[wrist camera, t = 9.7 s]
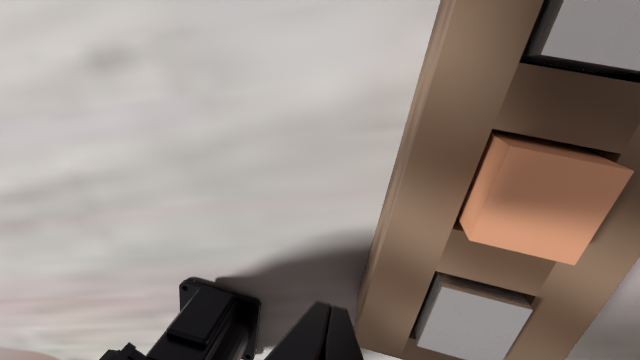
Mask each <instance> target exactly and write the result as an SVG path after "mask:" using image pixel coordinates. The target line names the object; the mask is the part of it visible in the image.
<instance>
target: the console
mask: <svg viewBox="0 0 640 360" xmlns="http://www.w3.org/2000/svg"><path fill="white" fill-rule="evenodd" d="M543 1H544V0H441V2H440V5H439V9H438V12H437V16H436V19H435V23H434V26H433V30H432V34H431V37H430V41H429V44H428V48H427V51H426V55H425V58H424V62H423V66H422V69H421V73H420V76H419V80H418V83H417V87H416V90H415V94H414V97H413V101H412V105H411V108H410V112H409V115H408V119H407V122H406V126H405V129H404V133H403V136H402V140H401V144H400V147H399V151H398V154H397V158H396V161H395V165H394V168H393V172H392V176H391V179H390V183H389V186H388V190H387V193H386V197H385V200H384V204H383V207H382V211H381V215H380V218H379V222H378V225H377V229H376V232H375V236H374V239H373V243H372V246H371V250H370V254H369V257H368V261H367V264H366V268H365V271H364V275H363V278H362V282H361V286H360V289H359V293H358V298H357V308H356V319H355V329H354V332H355V335H356V338H357V341H358V344H359V347H361V348H365V349H368V350H372V351H375V352H379V353H382V354H385V355H389V356H392V357H396V358H399V359H403V360H465V359H461V358H458V357H454V356H451V355H447V354H443V353H440V352H436V351H433V350H429V349H426V348H422V347H419V346H417V343H416V335H415V327H414V322H415V320H416V317H417V315H418V313H419V310H420V308H421V305H422V303H423V300H424V298H425V295H426V293H427V290H428V288H429V285H430V283H431V280H432V278H433V275H434V273H435V271H438V272H442V273H445V274H449V275H453V276H457V277H461V278H465V279H469V280H473V281H477V282H481V283H485V284H489V285H493V286H497V287H501V288H505V289H509V290H513V291H517V292H521V293H523V295H524V296H525V298H526V300H527V301H528V303H529V304H530V306H531V308H532V309H533V311H532V313H531V314H530V316H529V318H528V319H527V321H526V322H525V324H524V326H523V327H522V329H521V331H520V332H519V334H518V336H517V337H516V339H515V341H514V342H513V344H512V345H511V347H510V349H509V350H508V352H507V354H506V355H505V357H504V359H503V360H564V359H565V358H566V357H567V355H568V354H569V352H570V351H571V350H572V348H573V347H574V346H575V344H576V343H577V342H578V340H579V339H580V337H581V336H582V335H583V333H584V332H585V331H586V329H587V328H588V326H589V325H590V324H591V322H592V321H593V320H594V318H595V317H596V316H597V314H598V313H599V311H600V310H601V309H602V307H603V306H604V305H605V303H606V302H607V300H608V299H609V298H610V296H611V295H612V294H613V292H614V291H615V290H616V288H617V287H618V285H619V284H620V283H621V281H622V280H623V279H624V277H625V276H626V274H627V273H628V272H629V270H630V269H631V268H632V266H633V265H634V264H635V262H636V261H637V259H638V258H639V257H640V75H633V76H632V78H631V80H630V81H624V80H618V79H613V78H607V77H601V76H595V75H589V74H583V73H577V72H571V71H565V70H560V69H554V68H548V67H542V66H536V65H530V64H524V63H519V61H520V59H521V56H522V54H523V51H524V49H525V46H526V44H527V41H528V39H529V36H530V34H531V31H532V29H533V26H534V24H535V21H536V19H537V16H538V14H539V11H540V9H541V6H542V4H543ZM492 129H497V130H502V131H507V132H512V133H517V134H522V135H528V136H533V137H538V138H543V139H548V140H553V141H558V142H563V143H568V144H574V145H579V146H584V147H589V148H592V150H591V153H594V154H596V155H598V156H601V157H603V158H605V159H608V160H610V161H612V162H615V163H617V164H619V165H622V166H624V167H626V168H629V169H631V170H633V171H634V173H633V174H632V176H631V177H630V179H629V181H628V182H627V184H626V185H625V187H624V188H623V190H622V192H621V193H620V195H619V196H618V198H617V199H616V201H615V203H614V204H613V206H612V207H611V209H610V211H609V212H608V214H607V215H606V217H605V218H604V220H603V222H602V223H601V225H600V226H599V228H598V230H597V231H596V233H595V234H594V236H593V237H592V239H591V241H590V242H589V244H588V245H587V247H586V248H585V250H584V252H583V253H582V255H581V256H580V258H579V260H578V261H577V263H576V264H575V265H570V264H566V263H562V262H558V261H554V260H549V259H545V258H541V257H537V256H533V255H528V254H524V253H520V252H516V251H512V250H507V249H503V248H499V247H495V246H491V245H486V244H482V243H478V242H474V241H470V240H469V239H468V237H467V235H466V233H465V231H464V229H463V227H462V225H461V223H460V221H458V220H456V218H457V215H458V213H459V210H460V208H461V205H462V203H463V200H464V198H465V196H466V193H467V191H468V188H469V186H470V183H471V181H472V178H473V176H474V173H475V171H476V168H477V166H478V163H479V161H480V158H481V156H482V153H483V151H484V148H485V146H486V143H487V141H488V138H489V136H490V133H491V131H492Z"/></svg>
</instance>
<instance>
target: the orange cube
mask: <svg viewBox="0 0 640 360" xmlns="http://www.w3.org/2000/svg"><path fill="white" fill-rule="evenodd" d="M633 173H634V171H633V170H631V169H629V168H626V167H624V166H622V165H619V164H617V163H615V162H612V161H610V160H608V159H605V158H603V157H601V156H598V155H596V154H594V153H591V152H589V151H587V150H584V149H582V148H580V147H578V146H575V145H573V144H568V143H563V142H558V141H553V140H548V139H543V138H538V137H533V136H528V135H522V134H517V133H512V132H507V131H502V130H497V129H492V131H491V133H490V136H489V138H488V141H487V143H486V146H485V148H484V151H483V153H482V156H481V158H480V161H479V163H478V166H477V168H476V171H475V173H474V176H473V178H472V181H471V183H470V186H469V188H468V191H467V193H466V196H465V198H464V200H463V203H462V205H461V208H460V210H459V213H458V215H457V217H458V219H459V221H460V223H461V225H462V227H463V229H464V231H465V233H466V235H467V237H468V239H469V240H470V241H474V242H478V243H482V244H486V245H491V246H495V247H499V248H503V249H507V250H512V251H516V252H520V253H524V254H528V255H533V256H537V257H541V258H545V259H549V260H554V261H558V262H562V263H566V264H570V265H575V264H576V263H577V261H578V260H579V258H580V256H581V255H582V253H583V252H584V250H585V248H586V247H587V245H588V244H589V242H590V241H591V239H592V237H593V236H594V234H595V233H596V231H597V230H598V228H599V226H600V225H601V223H602V222H603V220H604V218H605V217H606V215H607V214H608V212H609V211H610V209H611V207H612V206H613V204H614V203H615V201H616V199H617V198H618V196H619V195H620V193H621V192H622V190H623V188H624V187H625V185H626V184H627V182H628V181H629V179H630V177H631V176H632V174H633Z"/></svg>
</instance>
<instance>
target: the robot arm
mask: <svg viewBox="0 0 640 360" xmlns="http://www.w3.org/2000/svg"><path fill="white" fill-rule="evenodd" d="M179 293H180V313H179V314H178V315H177V317H176V318H175V319H174V320H173V322H172V323H171V324H170V325H169V326H168V328H167V330H166V331H165V332H164V334H163V335H162V336H161V337H160V339H159V340H158V341H157V342H156V344H155V345H154V346H153V347H152V349H151V350H150V351H149V352H148V354H147V355H146V356H145V355H143V354H142V353H141V352H139V351H138V350H136V349H135V348H136V347H135V346H134V345H132V344H131V343H130V342H129V343H128V344H127V345H126V346H125V347H124V348H123V349H122V350H121V351H120V350H118V351H117V350H108V351H107V352H106V353H105V354H104V355H103V356H102V357H101V358H100V359H99V360H240V359H243V360H253V359H254V357H255V354H256V346H257V337H258V328H259V320H260V311H261V303H260V301H258V300H257V299H254V298H251V297H247V296H243V295H240V294H236V293H233V292H229V291H226V290H222V289H219V288H215V287H212V286H208V285H204V284H201V283H197V282H194V281H190V280H184V281H183V282H182V283H181V284H180V286H179ZM253 305H254V306H253ZM264 360H364V359H363V356H362V353H361V350H360V347H359V344H358V341H357V338H356V335H355V332H354V329H353V326H352V323H351V320H350V317H349V314H348V311H347V309H346V308H343V307H340V306H336V305H332V306H331V305H330V304H329V303H326V302H322V301H319V300H317V301H315V302H314V303H313V304H312V306H311V307H310V308H309V309H308V310H307V311H306V312H305V314H304V315H303V316H302V317H301V318H300V319H299V320H298V322H297V323H296V324H295V325H294V326H293V327H292V328H291V330H290V331H289V332H288V333H287V334H286V335H285V336H284V337H283V339H282V340H281V341H280V342H279V343H278V344H277V345H276V347H275V348H274V349H273V350H272V351H271V352H270V353H269V355H268V356H267V357H266V358H265V359H264Z"/></svg>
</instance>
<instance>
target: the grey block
mask: <svg viewBox="0 0 640 360" xmlns="http://www.w3.org/2000/svg"><path fill="white" fill-rule="evenodd" d="M520 60H523V61H528V62H534V63H540V64H546V65H552V66H558V67H564V68H570V69H576V70H582V71H588V72H594V73H610V74H629V75H640V0H544V1H543V4H542V6H541V9H540V11H539V14H538V16H537V19H536V21H535V24H534V26H533V29H532V31H531V34H530V36H529V39H528V41H527V44H526V46H525V49H524V51H523V54H522V56H521V59H520Z"/></svg>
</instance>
